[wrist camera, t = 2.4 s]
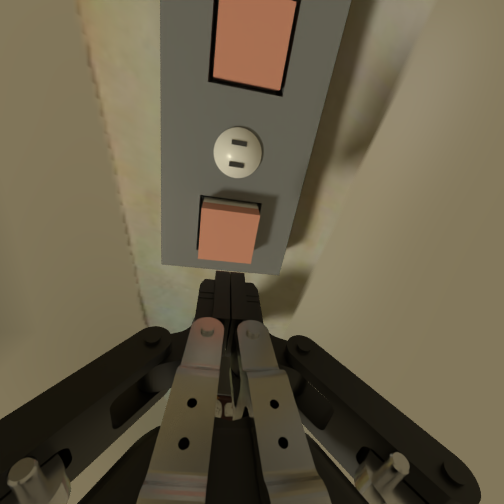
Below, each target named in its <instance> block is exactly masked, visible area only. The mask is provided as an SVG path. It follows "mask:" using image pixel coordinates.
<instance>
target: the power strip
mask: <svg viewBox="0 0 504 504" xmlns="http://www.w3.org/2000/svg"><path fill="white" fill-rule="evenodd" d="M292 1H296V7H295V12H294V18H293V23H292V29H291V34H290V39H289V45H288V50H287V55H286V61H285V66H284V71H283V77H282V82H281V87H280V90H279V91H275V92H271V91H266V90H261V89H256V88H252V87H247V86H242V85H237V84H232V83H227V82H222V81H217V80H215V79H214V77H213V72H214V59H215V46H216V33H217V20H218V7H219V0H160V59H161V251H162V264H163V265H174V266H184V267H195V268H206V269H216V270H227V271H238V272H248V273H259V274H270V275H279V273H280V270H281V266H282V262H283V258H284V255H285V251H286V247H287V243H288V239H289V236H290V232H291V228H292V224H293V220H294V217H295V213H296V209H297V205H298V201H299V198H300V194H301V190H302V186H303V182H304V179H305V175H306V171H307V167H308V163H309V160H310V156H311V152H312V148H313V144H314V141H315V137H316V133H317V129H318V125H319V122H320V118H321V114H322V110H323V106H324V103H325V99H326V95H327V91H328V87H329V84H330V80H331V76H332V72H333V69H334V65H335V61H336V57H337V53H338V50H339V46H340V42H341V38H342V34H343V31H344V27H345V23H346V19H347V15H348V12H349V8H350V4H351V0H292ZM205 196H206V197H213V198H221V199H228V200H235V201H243V202H250V203H257V206H258V210H259V213H260V219H259V224H258V229H257V234H256V240H255V245H254V250H253V255H252V260H251V264H246V263H236V262H226V261H216V260H206V259H198V250H199V236H200V223H201V209H202V204H203V201H204V197H205Z"/></svg>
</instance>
